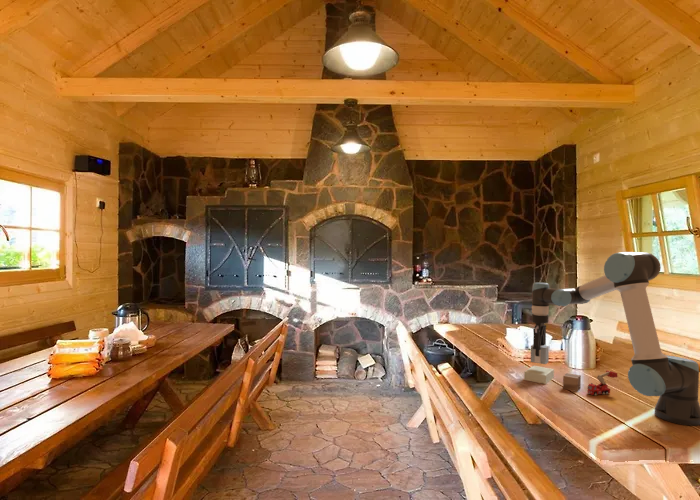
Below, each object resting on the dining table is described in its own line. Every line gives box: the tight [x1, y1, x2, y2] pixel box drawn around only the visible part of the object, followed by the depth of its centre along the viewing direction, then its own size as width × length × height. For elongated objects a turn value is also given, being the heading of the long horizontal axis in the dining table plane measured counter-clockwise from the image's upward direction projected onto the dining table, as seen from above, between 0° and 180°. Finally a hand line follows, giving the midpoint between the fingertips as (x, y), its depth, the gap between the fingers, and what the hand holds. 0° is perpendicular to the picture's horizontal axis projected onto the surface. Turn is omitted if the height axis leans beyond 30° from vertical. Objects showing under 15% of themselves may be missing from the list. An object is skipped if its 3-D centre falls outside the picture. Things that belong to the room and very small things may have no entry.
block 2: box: [562, 372, 582, 392], centre depth 205 cm, size 6×6×6 cm
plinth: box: [523, 365, 555, 385], centre depth 220 cm, size 14×10×4 cm
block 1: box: [530, 344, 550, 365], centre depth 220 cm, size 5×7×8 cm
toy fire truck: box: [587, 370, 618, 396], centre depth 199 cm, size 3×14×10 cm, turn 105°
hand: (539, 361), depth 220 cm, fingers closed on block 1, 5 cm apart
